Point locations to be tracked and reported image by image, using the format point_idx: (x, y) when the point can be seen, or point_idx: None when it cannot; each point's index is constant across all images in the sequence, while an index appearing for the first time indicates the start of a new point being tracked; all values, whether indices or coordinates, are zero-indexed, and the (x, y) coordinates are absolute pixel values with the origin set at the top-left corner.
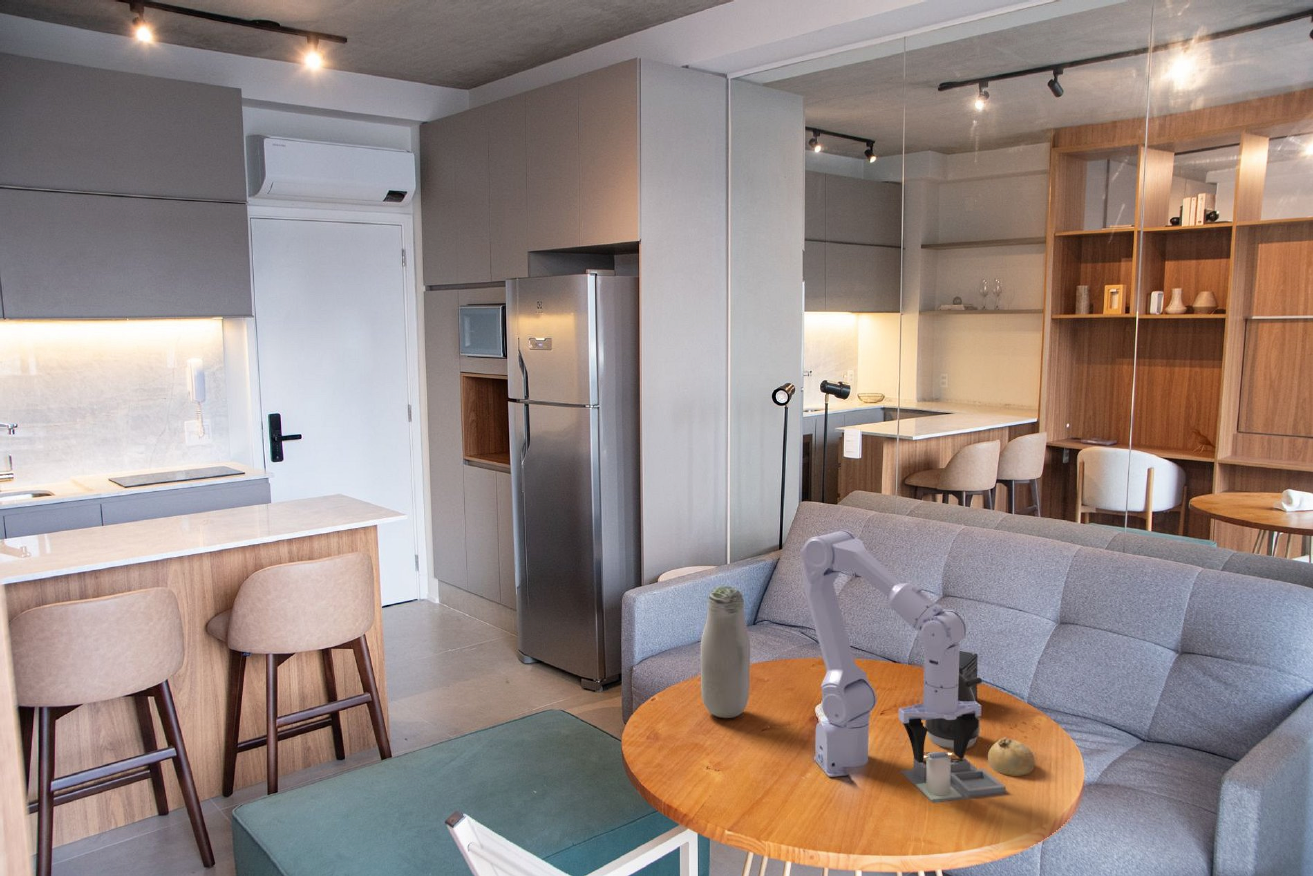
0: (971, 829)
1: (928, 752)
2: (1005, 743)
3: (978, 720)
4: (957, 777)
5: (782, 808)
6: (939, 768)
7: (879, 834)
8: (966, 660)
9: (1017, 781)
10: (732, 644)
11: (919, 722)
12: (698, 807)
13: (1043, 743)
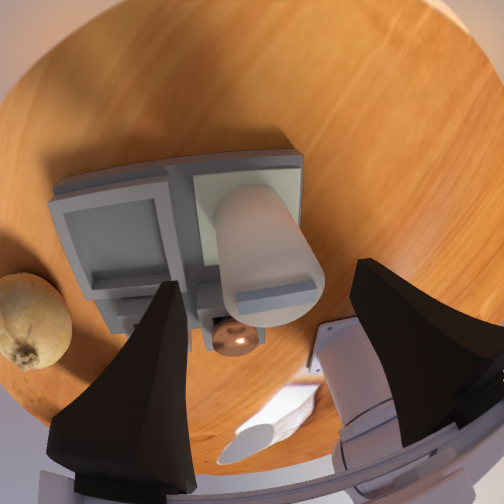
0: (232, 33)
1: (230, 354)
2: (22, 354)
3: (49, 457)
4: (169, 266)
5: (498, 223)
6: (290, 233)
7: (450, 94)
8: None
9: (28, 271)
10: None
11: (467, 405)
12: None
13: (3, 363)
